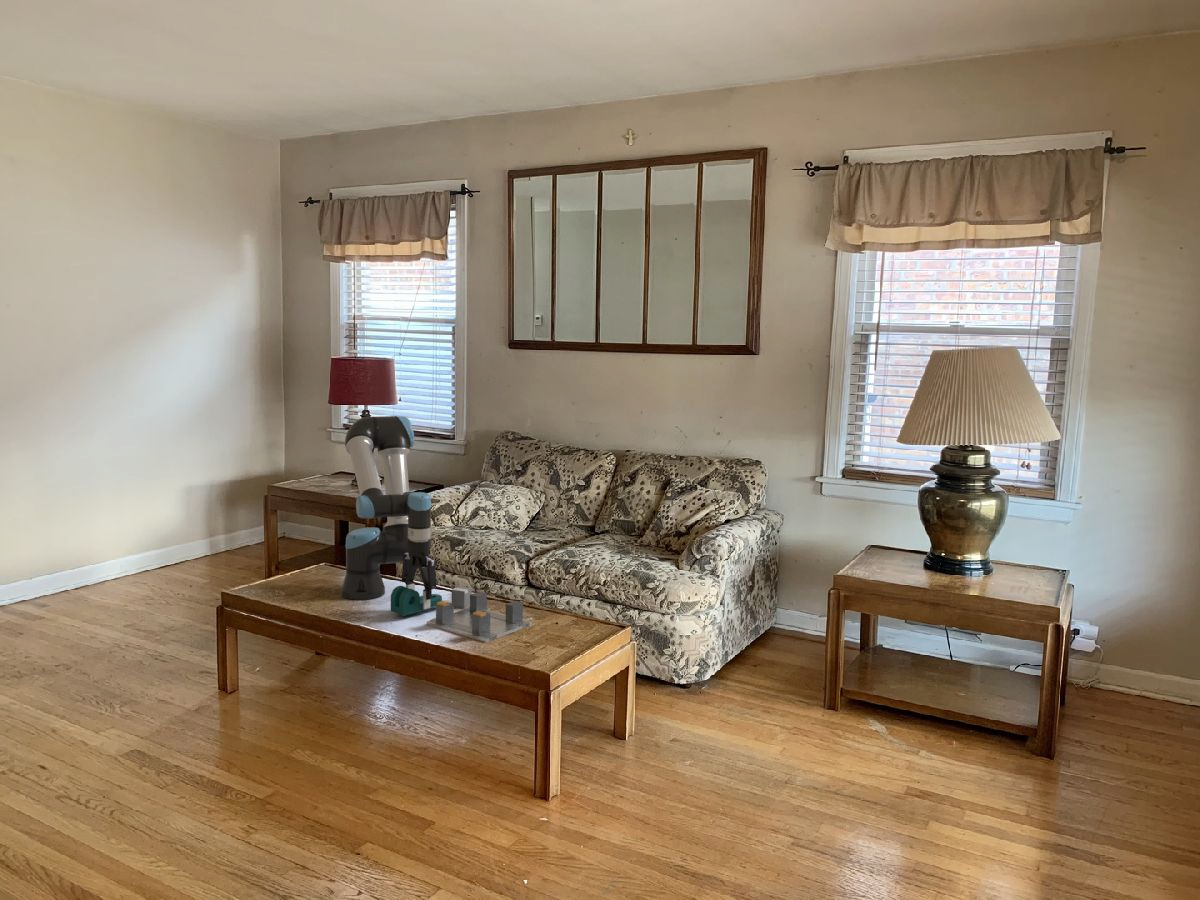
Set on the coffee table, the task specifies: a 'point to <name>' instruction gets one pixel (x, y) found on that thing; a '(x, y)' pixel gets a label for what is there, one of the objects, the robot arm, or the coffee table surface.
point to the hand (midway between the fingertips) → (418, 605)
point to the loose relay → (461, 597)
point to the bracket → (409, 601)
